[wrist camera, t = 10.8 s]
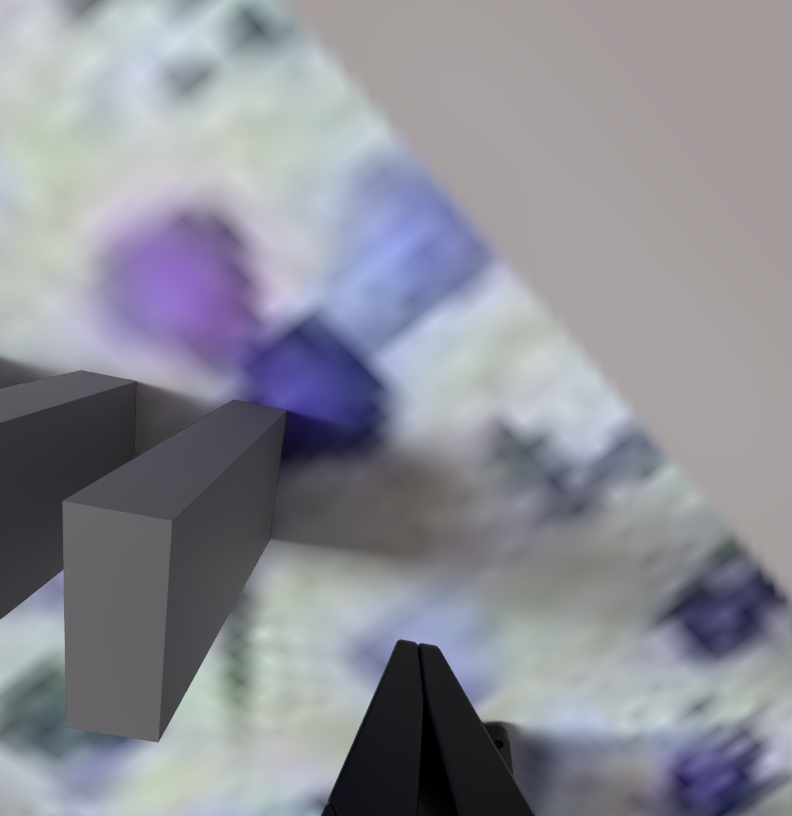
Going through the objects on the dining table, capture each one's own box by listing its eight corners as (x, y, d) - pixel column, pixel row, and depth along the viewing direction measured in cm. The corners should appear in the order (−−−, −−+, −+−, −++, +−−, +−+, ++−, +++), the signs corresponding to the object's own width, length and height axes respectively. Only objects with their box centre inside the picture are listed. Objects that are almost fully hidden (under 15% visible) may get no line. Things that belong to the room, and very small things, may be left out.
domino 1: (136, 381, 13) (-140, 464, 7) (132, 514, 15) (-103, 701, 8) (81, 370, 13) (-255, 444, 6) (81, 505, 14) (-198, 685, 8)
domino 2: (287, 410, 13) (172, 520, 7) (269, 539, 15) (158, 741, 8) (233, 399, 13) (62, 500, 7) (220, 530, 15) (66, 727, 8)
